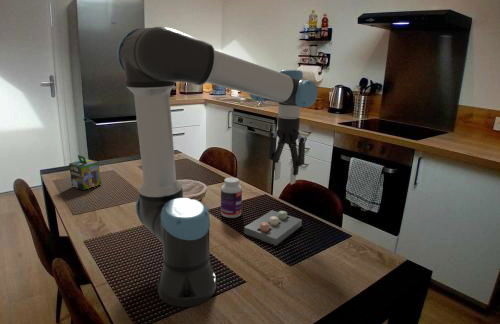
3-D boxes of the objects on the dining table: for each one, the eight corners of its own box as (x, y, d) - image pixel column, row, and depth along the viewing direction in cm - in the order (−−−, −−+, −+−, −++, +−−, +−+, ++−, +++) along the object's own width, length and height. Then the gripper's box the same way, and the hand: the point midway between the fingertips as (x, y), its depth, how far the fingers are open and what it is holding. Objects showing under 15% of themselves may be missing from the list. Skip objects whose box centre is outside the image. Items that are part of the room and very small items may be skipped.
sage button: (283, 222, 126) (284, 215, 125) (276, 219, 128) (276, 212, 127) (288, 219, 129) (288, 212, 128) (280, 216, 130) (281, 210, 130)
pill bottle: (238, 220, 130) (239, 184, 126) (218, 217, 132) (218, 182, 128) (243, 211, 138) (244, 177, 134) (224, 209, 139) (224, 175, 135)
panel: (275, 245, 114) (276, 239, 113) (244, 233, 121) (244, 227, 120) (301, 225, 128) (301, 219, 127) (271, 216, 135) (271, 210, 134)
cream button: (275, 228, 121) (275, 221, 121) (267, 225, 123) (267, 218, 122) (279, 225, 124) (280, 217, 123) (272, 222, 126) (272, 215, 125)
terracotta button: (265, 234, 117) (266, 227, 116) (258, 232, 119) (258, 224, 118) (270, 231, 119) (271, 223, 118) (263, 228, 121) (263, 221, 120)
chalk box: (101, 185, 160) (98, 154, 156) (83, 191, 153) (79, 159, 148) (89, 181, 165) (86, 151, 160) (71, 187, 157) (67, 155, 153)
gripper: (319, 119, 115) (313, 184, 122) (271, 112, 125) (268, 173, 132) (308, 121, 109) (303, 190, 116) (259, 114, 119) (257, 178, 126)
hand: (284, 181), depth 124 cm, fingers open, 6 cm apart
